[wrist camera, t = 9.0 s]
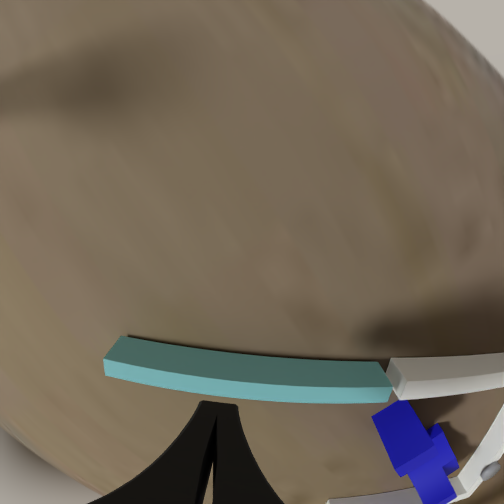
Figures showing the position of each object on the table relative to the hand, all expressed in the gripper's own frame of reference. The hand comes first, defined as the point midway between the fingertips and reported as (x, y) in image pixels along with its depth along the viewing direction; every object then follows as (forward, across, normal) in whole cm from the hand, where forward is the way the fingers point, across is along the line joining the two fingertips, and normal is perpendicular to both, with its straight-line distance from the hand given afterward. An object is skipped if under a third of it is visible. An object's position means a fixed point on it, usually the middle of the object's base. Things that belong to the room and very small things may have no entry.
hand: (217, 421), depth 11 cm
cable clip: (+9, -17, +10) cm, 22 cm away
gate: (+8, -2, +2) cm, 9 cm away
